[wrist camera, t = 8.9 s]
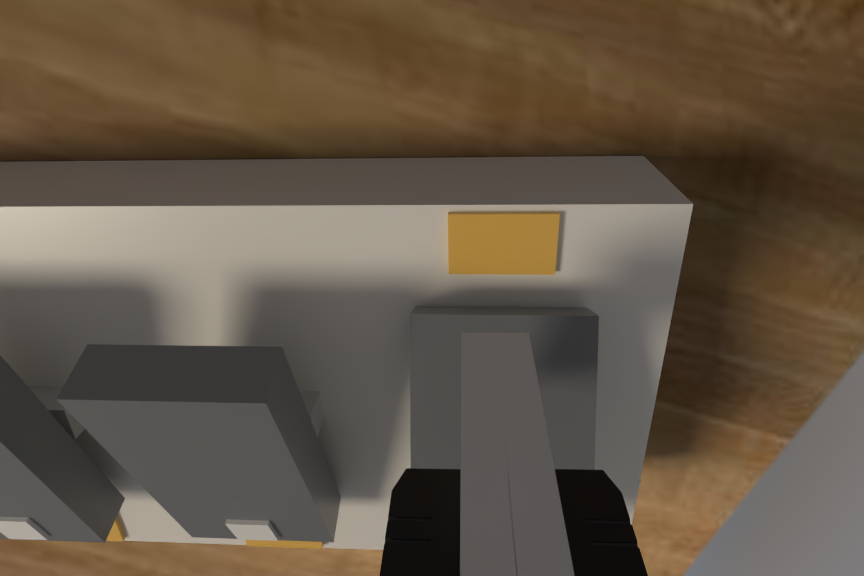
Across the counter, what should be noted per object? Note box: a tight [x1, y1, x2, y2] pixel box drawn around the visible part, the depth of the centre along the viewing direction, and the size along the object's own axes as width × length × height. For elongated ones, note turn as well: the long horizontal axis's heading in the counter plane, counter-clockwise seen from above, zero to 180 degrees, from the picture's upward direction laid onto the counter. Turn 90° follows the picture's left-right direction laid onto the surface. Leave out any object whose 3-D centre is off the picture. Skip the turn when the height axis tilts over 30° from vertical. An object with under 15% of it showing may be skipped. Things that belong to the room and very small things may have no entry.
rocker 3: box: [410, 306, 599, 470], centre depth 16 cm, size 9×5×2 cm, turn 1°
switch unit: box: [0, 156, 693, 550], centre depth 21 cm, size 14×26×6 cm, turn 91°
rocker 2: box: [56, 344, 341, 542], centre depth 17 cm, size 9×5×2 cm, turn 2°
